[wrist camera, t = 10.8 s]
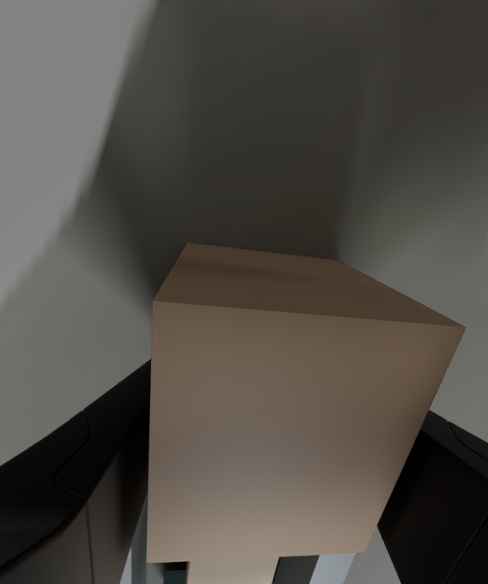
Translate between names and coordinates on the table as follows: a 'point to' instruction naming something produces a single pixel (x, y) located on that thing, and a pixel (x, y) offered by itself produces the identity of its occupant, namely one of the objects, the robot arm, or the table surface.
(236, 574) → the push rod
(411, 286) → the table surface
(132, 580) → the channel
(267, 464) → the block
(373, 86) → the table surface
